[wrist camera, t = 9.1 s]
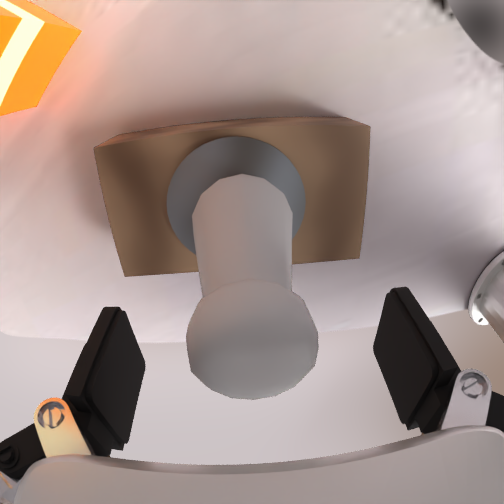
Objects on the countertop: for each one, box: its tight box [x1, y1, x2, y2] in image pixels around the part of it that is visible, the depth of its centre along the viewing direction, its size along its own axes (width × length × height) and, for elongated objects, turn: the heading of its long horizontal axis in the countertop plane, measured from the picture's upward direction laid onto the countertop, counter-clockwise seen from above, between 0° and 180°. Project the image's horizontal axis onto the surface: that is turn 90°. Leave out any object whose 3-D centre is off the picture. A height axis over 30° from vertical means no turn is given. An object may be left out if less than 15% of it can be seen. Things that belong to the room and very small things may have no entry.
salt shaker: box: [186, 174, 318, 400], centre depth 15 cm, size 6×6×13 cm
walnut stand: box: [94, 117, 370, 277], centre depth 23 cm, size 18×10×6 cm, turn 93°
